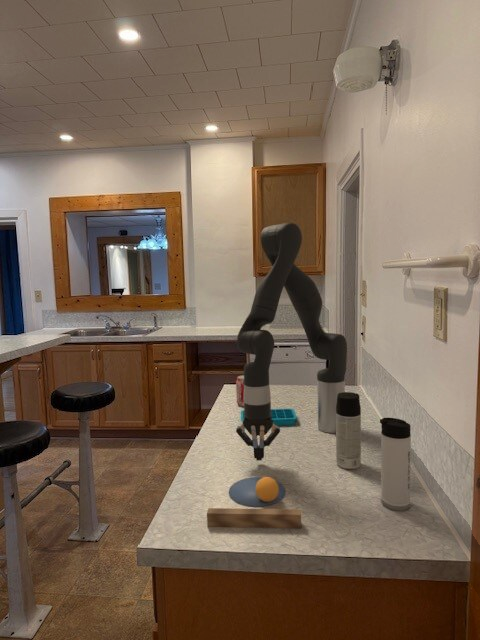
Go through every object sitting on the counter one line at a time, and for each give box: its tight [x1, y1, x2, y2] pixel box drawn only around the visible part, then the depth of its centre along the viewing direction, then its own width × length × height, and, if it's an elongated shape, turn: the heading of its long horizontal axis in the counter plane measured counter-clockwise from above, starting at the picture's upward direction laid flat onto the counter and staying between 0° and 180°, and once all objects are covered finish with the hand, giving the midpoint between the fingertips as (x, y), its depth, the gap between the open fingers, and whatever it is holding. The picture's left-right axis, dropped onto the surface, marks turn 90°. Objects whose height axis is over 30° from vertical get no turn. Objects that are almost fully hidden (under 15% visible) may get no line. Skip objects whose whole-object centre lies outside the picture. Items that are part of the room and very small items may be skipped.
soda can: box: [235, 374, 244, 408], centre depth 174 cm, size 7×7×12 cm
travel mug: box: [379, 417, 412, 512], centre depth 94 cm, size 6×7×20 cm
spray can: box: [335, 391, 362, 470], centre depth 115 cm, size 7×7×20 cm
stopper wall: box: [206, 507, 302, 529], centre depth 89 cm, size 20×2×3 cm, turn 85°
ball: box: [256, 476, 279, 502], centre depth 99 cm, size 6×6×6 cm
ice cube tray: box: [240, 408, 298, 427], centre depth 153 cm, size 12×20×3 cm, turn 90°
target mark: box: [228, 476, 286, 508], centre depth 103 cm, size 14×14×1 cm
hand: (259, 459), depth 118 cm, fingers closed
